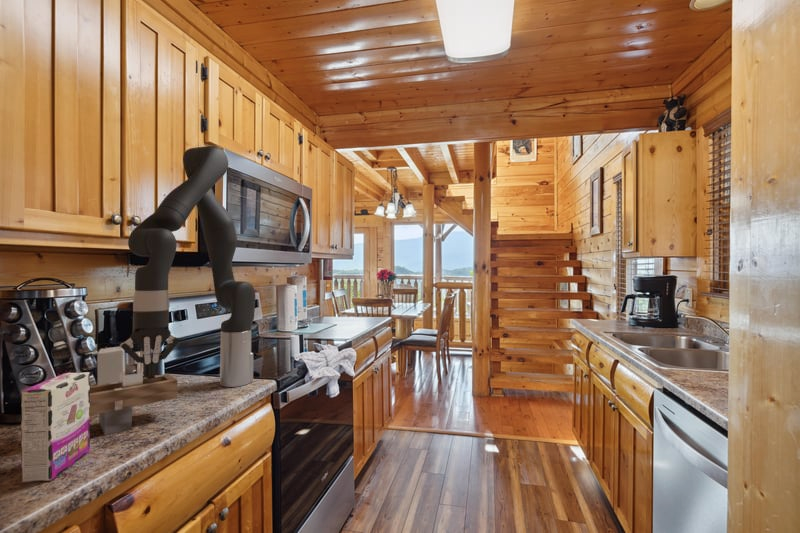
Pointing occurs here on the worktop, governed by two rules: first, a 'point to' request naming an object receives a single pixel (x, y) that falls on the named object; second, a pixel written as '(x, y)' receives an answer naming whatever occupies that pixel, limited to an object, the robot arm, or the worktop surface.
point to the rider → (130, 376)
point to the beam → (128, 400)
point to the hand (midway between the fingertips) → (150, 377)
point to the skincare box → (110, 364)
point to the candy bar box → (54, 425)
